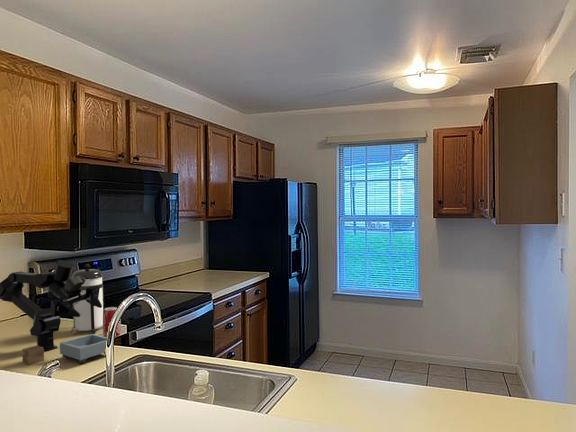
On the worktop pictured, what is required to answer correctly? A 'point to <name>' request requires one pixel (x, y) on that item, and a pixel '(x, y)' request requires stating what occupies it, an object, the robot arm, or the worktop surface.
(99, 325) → the coffee press
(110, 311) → the soda can
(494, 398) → the worktop surface
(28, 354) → the walnut block
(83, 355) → the cart
